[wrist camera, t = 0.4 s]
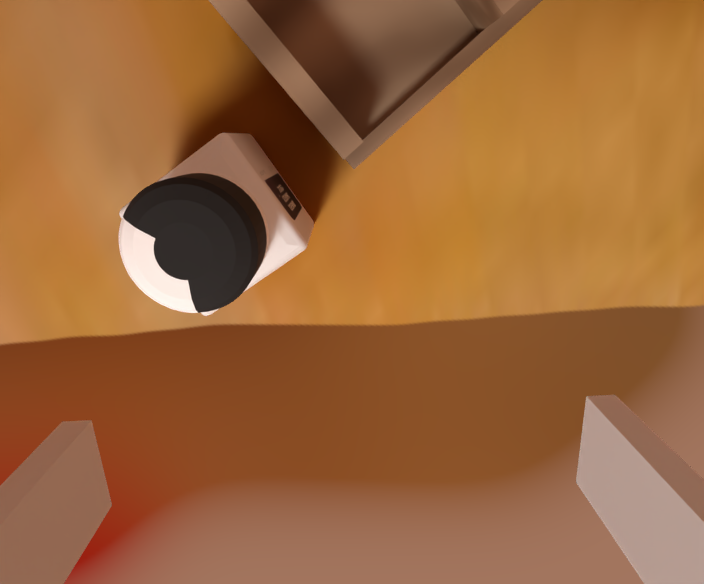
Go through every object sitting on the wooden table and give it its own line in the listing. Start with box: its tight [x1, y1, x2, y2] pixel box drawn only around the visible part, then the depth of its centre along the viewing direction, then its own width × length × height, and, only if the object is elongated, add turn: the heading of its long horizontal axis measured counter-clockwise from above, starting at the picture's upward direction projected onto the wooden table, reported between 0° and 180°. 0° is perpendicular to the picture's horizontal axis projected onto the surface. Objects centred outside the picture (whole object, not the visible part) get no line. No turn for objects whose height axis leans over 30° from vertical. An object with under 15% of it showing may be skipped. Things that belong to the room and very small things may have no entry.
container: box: [119, 133, 314, 316], centre depth 28 cm, size 8×8×13 cm
